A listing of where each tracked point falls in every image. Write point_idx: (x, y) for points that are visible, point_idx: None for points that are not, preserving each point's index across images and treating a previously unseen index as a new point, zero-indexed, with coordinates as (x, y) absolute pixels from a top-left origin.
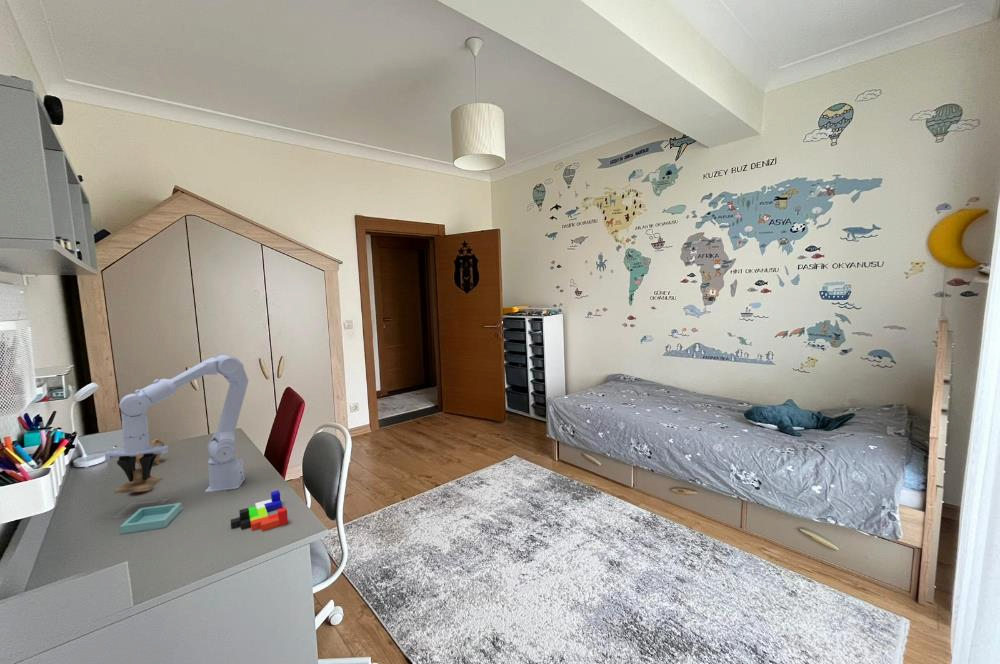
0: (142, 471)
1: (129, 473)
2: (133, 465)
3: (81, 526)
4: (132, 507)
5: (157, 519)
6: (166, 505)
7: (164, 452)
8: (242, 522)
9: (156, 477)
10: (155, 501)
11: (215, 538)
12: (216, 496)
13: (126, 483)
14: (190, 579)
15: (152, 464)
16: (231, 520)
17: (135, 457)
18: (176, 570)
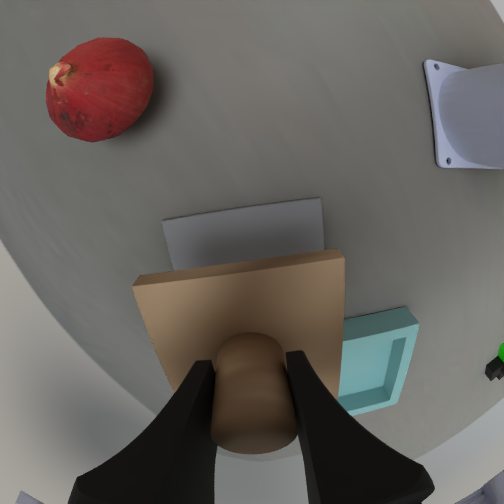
0: (301, 448)
1: (215, 450)
2: (191, 456)
3: (133, 350)
4: (204, 265)
5: (379, 403)
6: (378, 338)
7: (485, 498)
8: (501, 376)
9: (311, 275)
10: (273, 220)
11: (463, 396)
12: (472, 211)
13: (167, 353)
14: (432, 449)
15: (348, 417)
16: (493, 375)
17: (164, 499)
18: (419, 446)
